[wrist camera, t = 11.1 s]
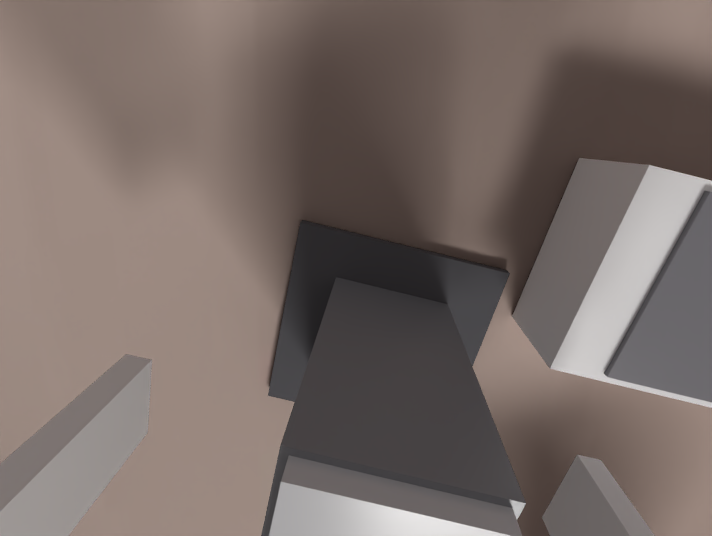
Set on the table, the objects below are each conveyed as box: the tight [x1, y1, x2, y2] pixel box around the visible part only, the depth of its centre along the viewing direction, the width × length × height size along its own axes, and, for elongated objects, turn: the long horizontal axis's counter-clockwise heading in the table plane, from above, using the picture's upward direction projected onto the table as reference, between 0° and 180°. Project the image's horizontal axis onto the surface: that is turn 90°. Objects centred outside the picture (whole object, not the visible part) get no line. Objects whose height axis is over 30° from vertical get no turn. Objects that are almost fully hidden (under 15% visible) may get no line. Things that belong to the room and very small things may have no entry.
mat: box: [268, 220, 510, 402], centre depth 17 cm, size 9×9×1 cm
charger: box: [261, 277, 526, 536], centre depth 12 cm, size 5×5×10 cm
